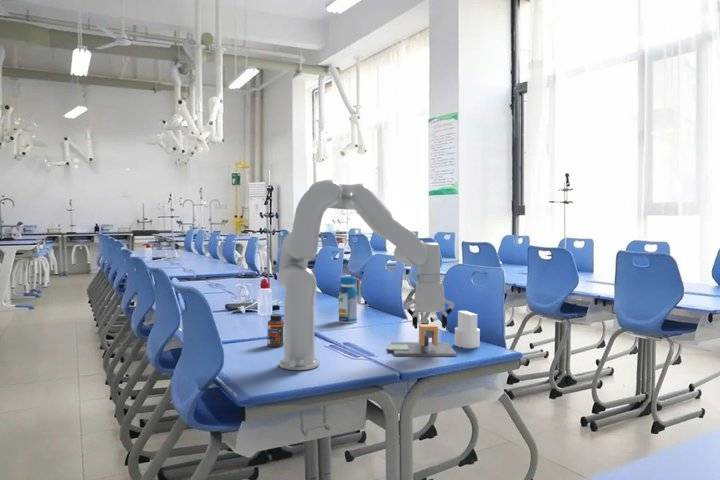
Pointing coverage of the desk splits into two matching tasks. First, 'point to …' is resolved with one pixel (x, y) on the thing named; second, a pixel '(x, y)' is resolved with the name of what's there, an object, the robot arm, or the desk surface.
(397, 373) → the desk surface
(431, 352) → the stand
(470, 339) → the cylinder with rectangular tab
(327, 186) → the robot arm
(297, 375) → the desk surface
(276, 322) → the supplement bottle
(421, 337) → the orange staple
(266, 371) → the desk surface
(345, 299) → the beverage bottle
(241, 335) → the desk surface
